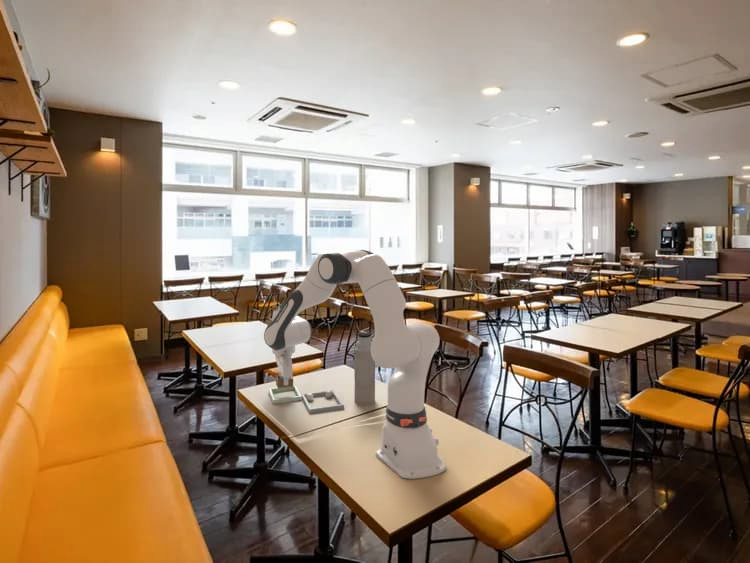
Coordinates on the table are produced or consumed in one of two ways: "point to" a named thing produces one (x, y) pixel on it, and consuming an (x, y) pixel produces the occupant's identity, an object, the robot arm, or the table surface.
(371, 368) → the thermos bottle
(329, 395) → the pebble
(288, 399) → the green tray
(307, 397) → the pebble
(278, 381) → the scoop cup
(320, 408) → the slate tray
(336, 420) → the table surface
